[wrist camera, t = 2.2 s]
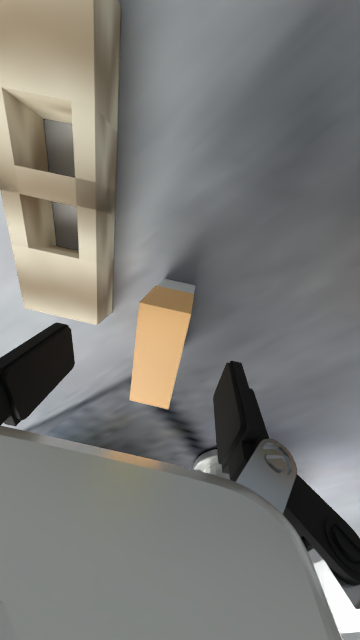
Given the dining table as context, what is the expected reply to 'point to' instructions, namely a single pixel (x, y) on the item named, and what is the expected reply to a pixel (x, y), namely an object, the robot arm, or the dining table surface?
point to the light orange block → (160, 341)
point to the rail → (88, 141)
